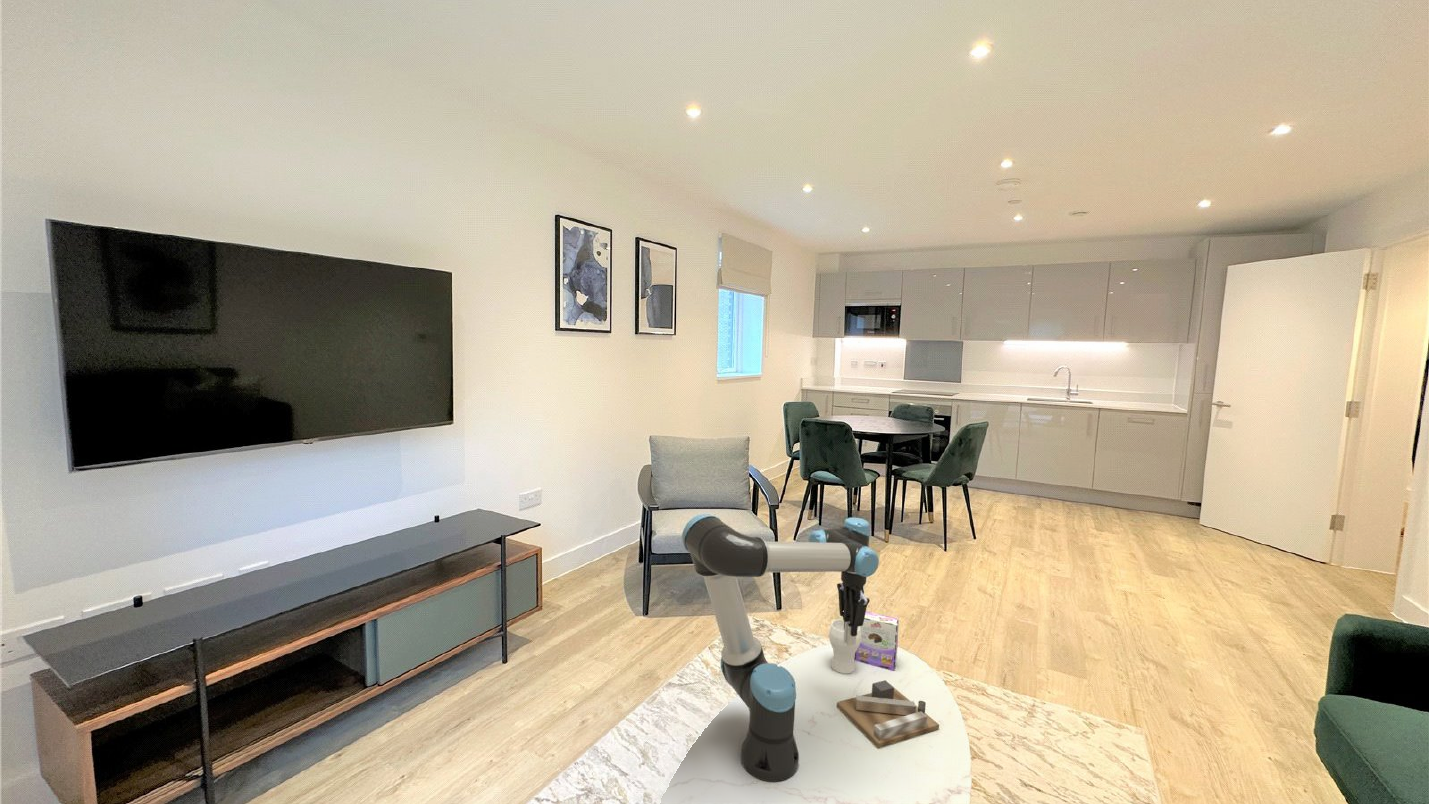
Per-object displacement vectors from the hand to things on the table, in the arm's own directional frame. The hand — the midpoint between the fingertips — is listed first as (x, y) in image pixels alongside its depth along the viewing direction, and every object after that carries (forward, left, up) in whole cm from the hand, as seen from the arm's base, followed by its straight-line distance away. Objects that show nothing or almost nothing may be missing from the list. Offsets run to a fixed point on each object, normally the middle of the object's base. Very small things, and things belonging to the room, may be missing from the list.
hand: (849, 643), depth 171 cm
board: (+6, -12, -18) cm, 23 cm away
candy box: (+23, +14, -19) cm, 33 cm away
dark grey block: (+9, -6, -17) cm, 20 cm away
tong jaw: (+6, -11, -17) cm, 21 cm away
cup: (+10, +15, -19) cm, 26 cm away
